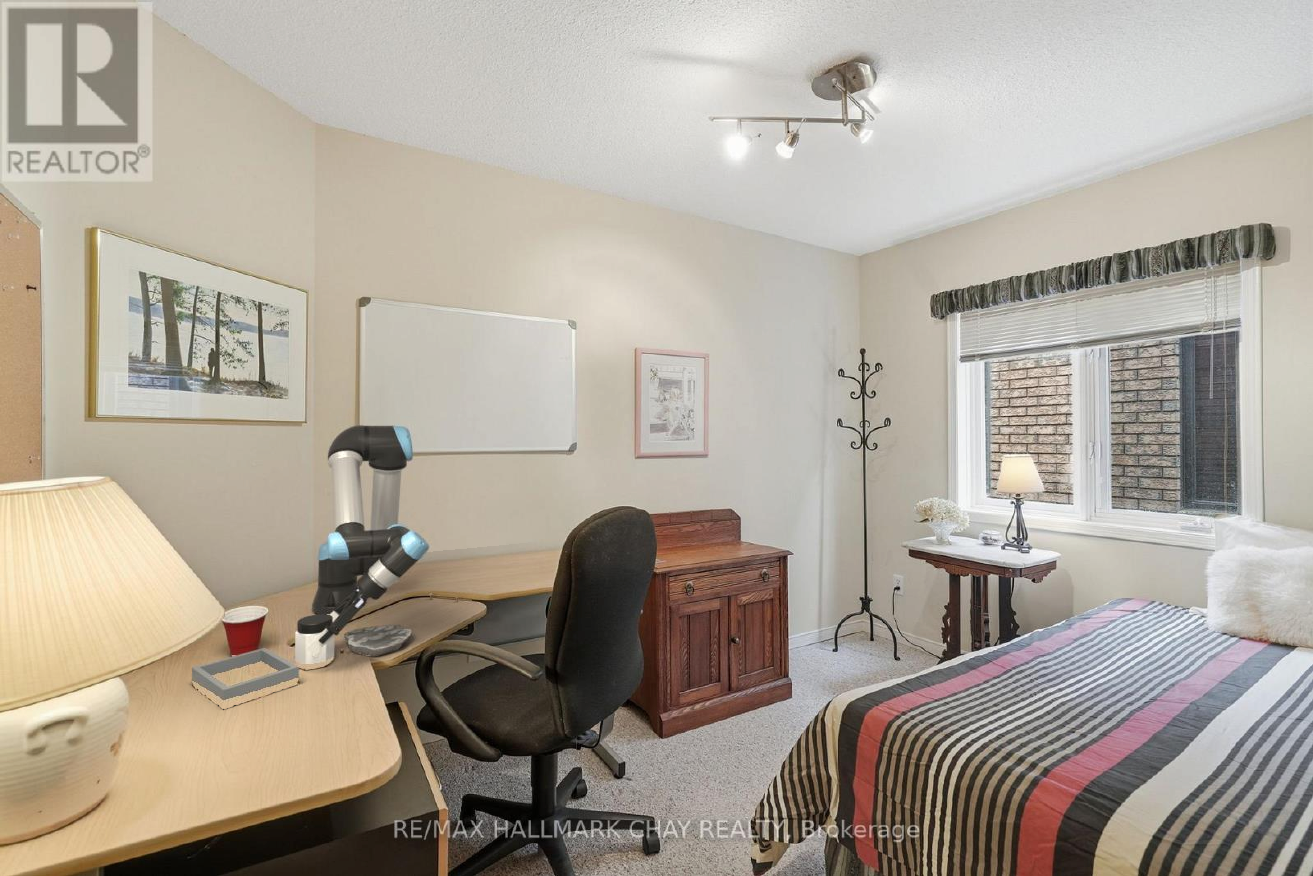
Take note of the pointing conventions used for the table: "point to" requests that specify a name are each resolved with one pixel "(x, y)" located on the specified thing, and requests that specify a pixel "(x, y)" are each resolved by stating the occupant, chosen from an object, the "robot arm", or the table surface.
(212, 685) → the bin
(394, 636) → the grey stone slab
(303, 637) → the jar
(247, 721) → the table surface
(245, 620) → the plastic cup
